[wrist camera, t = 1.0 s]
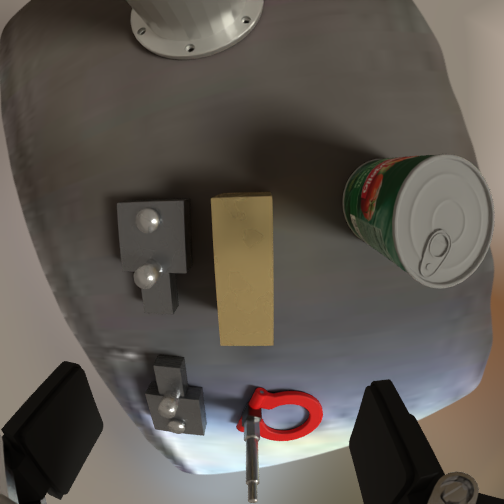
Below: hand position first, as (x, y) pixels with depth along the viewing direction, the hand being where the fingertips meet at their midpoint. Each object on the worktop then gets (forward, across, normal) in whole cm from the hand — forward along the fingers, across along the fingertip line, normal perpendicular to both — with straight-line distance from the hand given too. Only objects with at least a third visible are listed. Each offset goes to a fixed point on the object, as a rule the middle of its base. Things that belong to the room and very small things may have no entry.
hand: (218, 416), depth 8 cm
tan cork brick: (+19, 0, 0) cm, 19 cm away
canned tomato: (+19, -12, -5) cm, 23 cm away
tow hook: (+19, -4, +19) cm, 27 cm away
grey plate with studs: (+19, +8, +8) cm, 22 cm away
